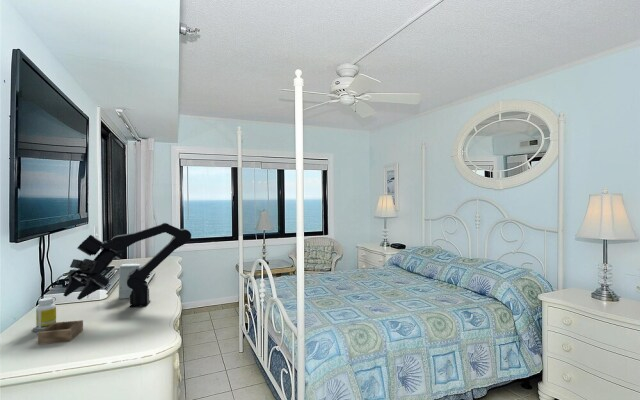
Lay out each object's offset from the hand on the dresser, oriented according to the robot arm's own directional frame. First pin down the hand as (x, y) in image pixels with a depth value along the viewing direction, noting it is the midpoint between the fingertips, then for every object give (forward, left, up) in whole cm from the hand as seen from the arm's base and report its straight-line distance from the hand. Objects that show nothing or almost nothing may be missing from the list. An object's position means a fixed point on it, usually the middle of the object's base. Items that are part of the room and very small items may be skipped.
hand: (71, 297), depth 124 cm
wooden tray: (-4, +16, -9) cm, 19 cm away
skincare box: (-12, -27, -9) cm, 31 cm away
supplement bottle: (+5, +6, -8) cm, 12 cm away
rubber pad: (+5, +6, -9) cm, 12 cm away
